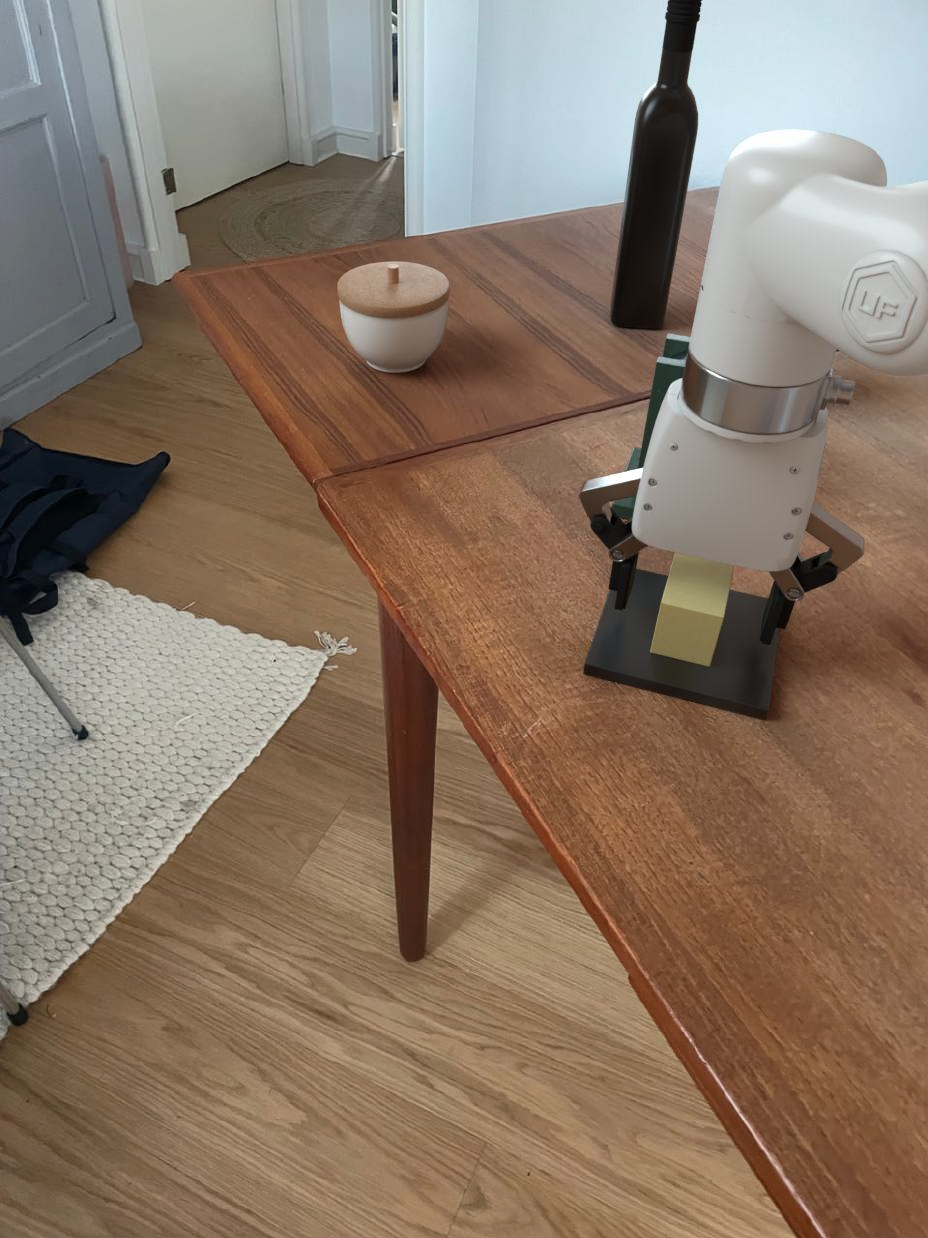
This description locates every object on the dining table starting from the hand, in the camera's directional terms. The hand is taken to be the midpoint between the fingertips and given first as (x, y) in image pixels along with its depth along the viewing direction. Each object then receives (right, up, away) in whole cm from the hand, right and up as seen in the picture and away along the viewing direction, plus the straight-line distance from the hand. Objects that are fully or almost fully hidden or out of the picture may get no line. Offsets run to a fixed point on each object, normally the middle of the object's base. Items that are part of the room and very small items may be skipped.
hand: (693, 613), depth 63 cm
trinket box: (-22, +26, +31) cm, 46 cm away
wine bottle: (+3, +32, +39) cm, 51 cm away
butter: (0, -1, +1) cm, 2 cm away
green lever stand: (+1, +10, +15) cm, 18 cm away
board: (0, -2, +2) cm, 3 cm away
